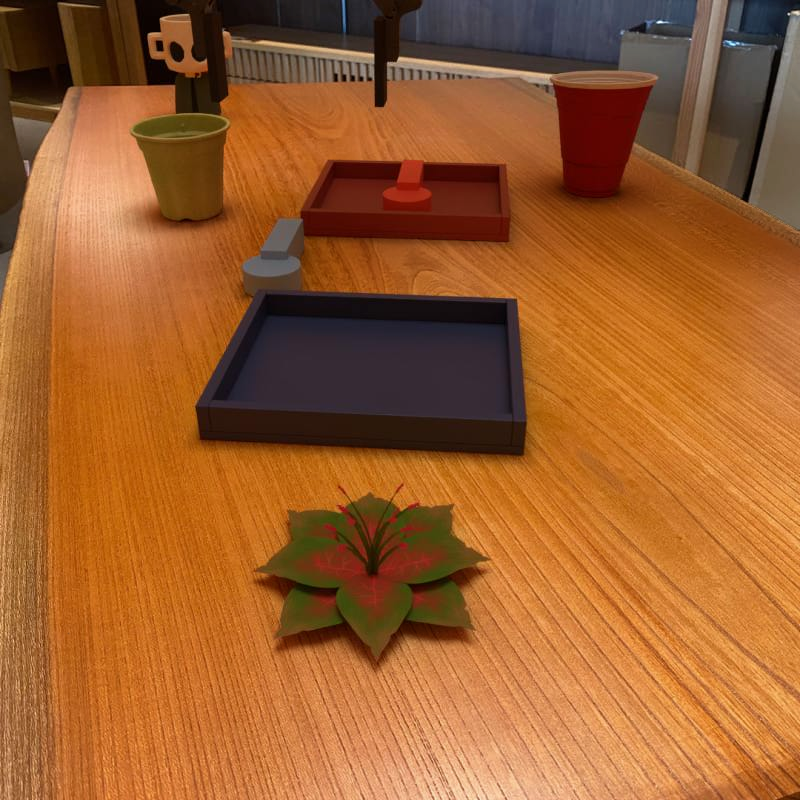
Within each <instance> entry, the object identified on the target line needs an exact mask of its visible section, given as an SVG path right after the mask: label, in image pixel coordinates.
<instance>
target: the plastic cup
mask: <svg viewBox="0 0 800 800" xmlns="http://www.w3.org/2000/svg"><path fill="white" fill-rule="evenodd" d="M658 80H659V76H658V75H657V74H652V73H648V72H640V71H629V70H578V71H569V72H561V73H557V74H552V75H550V77H549V81H550V82H549V83H551V84H552V87H553V90H554V97H555V100H556V108H557V114H558V129H559V147H560V158H561V163H562V165H561V166H562V182H563V184H564V190H565V191H567V192H568V193H570V194H573V195H575V196H580V197H584V198H585V197H587V198H605V197H610V196H613V195H615V194H617V193H618V191H619V188H620V186H621V183H622V180H623V176H624V173H625V170H626V166H627V164H628V163H629V159H630V157H631V156H630V155H631V154H632V149H633V146H634V143H635V141H636V136H637V133H638V129H639V127H640V123H641V120H642V117H643V113H644V111H645V109H646V106H647V102H648V101H649V98H650V94H651V92H652V90H653V88H654V85H656V84H657V82H658Z"/></svg>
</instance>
